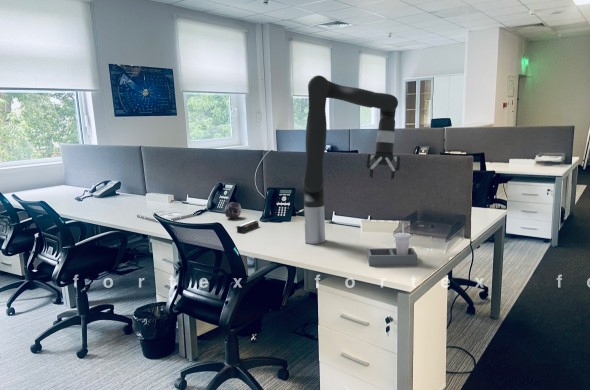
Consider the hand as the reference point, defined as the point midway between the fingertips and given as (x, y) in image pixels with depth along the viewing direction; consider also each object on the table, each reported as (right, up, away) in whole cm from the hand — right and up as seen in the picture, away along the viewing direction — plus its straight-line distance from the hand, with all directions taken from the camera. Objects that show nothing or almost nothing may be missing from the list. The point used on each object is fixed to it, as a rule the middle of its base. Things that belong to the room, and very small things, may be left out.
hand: (381, 178), depth 186 cm
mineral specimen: (-75, -21, +69) cm, 104 cm away
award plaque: (-120, -21, +82) cm, 147 cm away
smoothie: (+4, -32, -19) cm, 38 cm away
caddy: (0, -33, -19) cm, 38 cm away
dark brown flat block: (-61, -26, +42) cm, 79 cm away
